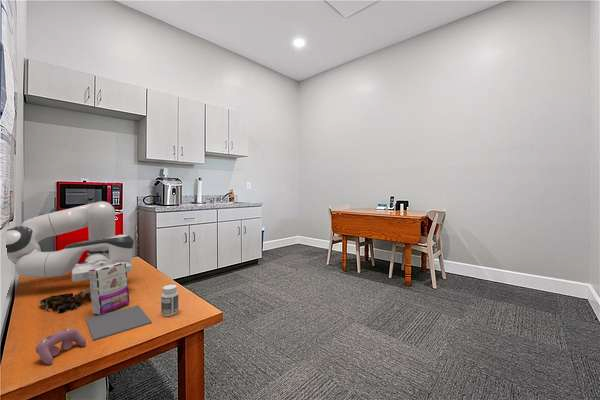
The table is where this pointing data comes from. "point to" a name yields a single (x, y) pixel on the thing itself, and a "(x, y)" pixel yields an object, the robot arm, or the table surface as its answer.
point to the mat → (116, 322)
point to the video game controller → (64, 336)
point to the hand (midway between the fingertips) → (106, 276)
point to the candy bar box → (108, 287)
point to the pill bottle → (169, 300)
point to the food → (66, 301)
